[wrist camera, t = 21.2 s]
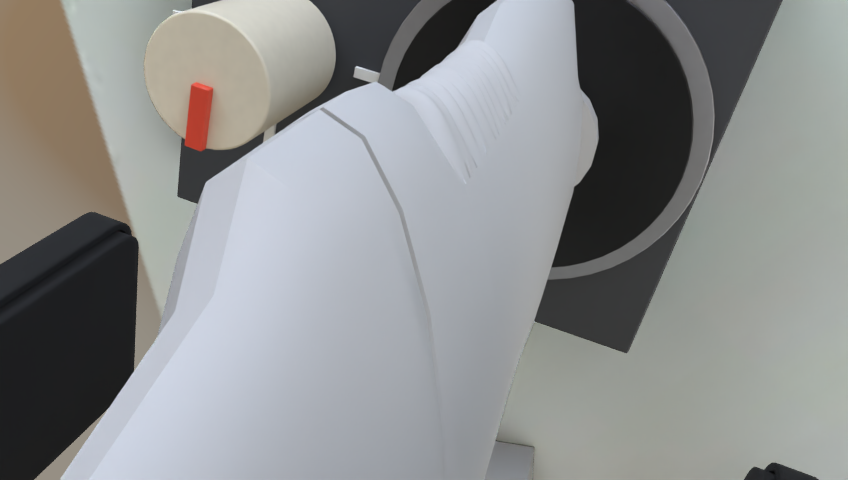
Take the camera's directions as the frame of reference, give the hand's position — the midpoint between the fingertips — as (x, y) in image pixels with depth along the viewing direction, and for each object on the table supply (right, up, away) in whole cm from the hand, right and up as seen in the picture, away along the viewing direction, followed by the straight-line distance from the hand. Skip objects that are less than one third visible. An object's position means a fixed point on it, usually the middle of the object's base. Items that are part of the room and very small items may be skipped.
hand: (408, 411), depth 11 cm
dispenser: (+4, +6, +13) cm, 15 cm away
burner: (+4, +6, +14) cm, 16 cm away
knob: (-5, +9, +15) cm, 18 cm away
